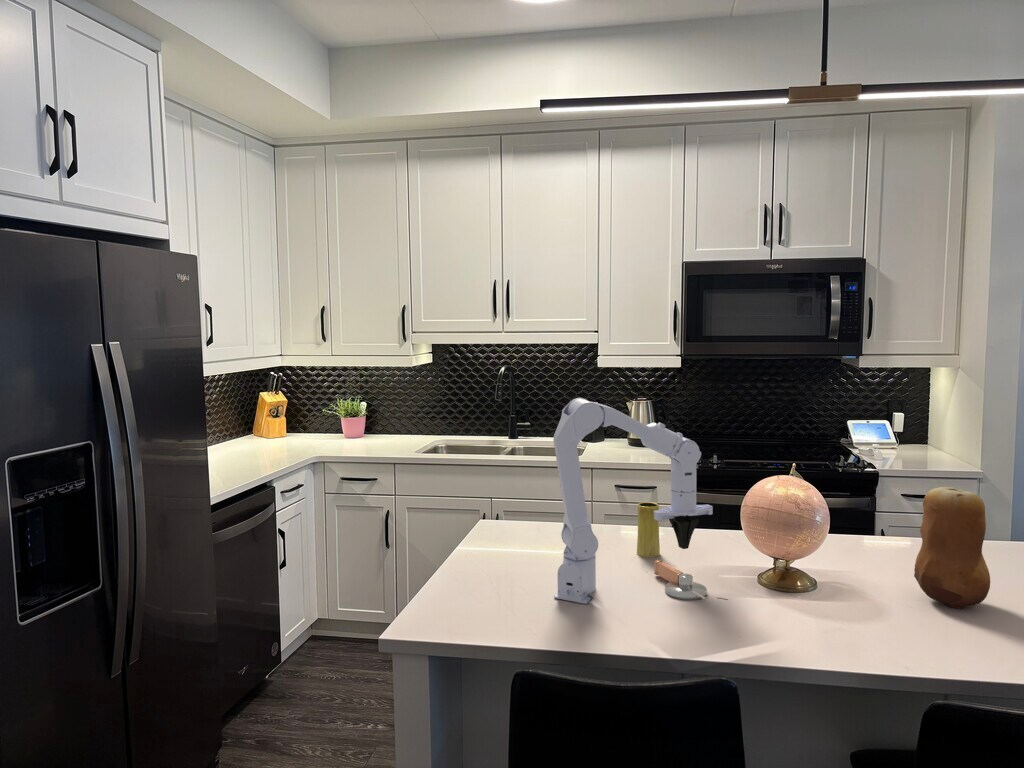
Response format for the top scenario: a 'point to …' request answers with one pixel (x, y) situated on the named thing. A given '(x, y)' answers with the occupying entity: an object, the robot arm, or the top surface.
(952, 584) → the butternut squash
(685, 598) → the pizza cutter
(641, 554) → the vase
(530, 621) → the top surface
